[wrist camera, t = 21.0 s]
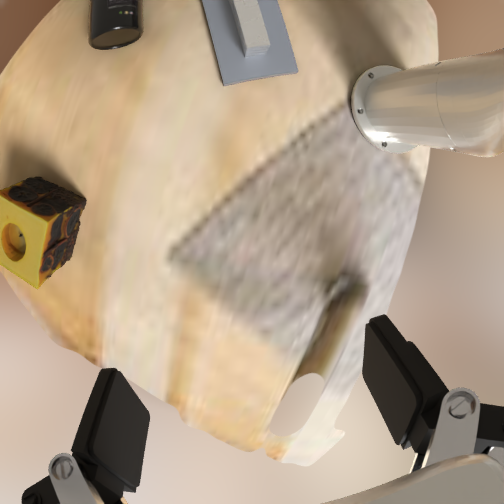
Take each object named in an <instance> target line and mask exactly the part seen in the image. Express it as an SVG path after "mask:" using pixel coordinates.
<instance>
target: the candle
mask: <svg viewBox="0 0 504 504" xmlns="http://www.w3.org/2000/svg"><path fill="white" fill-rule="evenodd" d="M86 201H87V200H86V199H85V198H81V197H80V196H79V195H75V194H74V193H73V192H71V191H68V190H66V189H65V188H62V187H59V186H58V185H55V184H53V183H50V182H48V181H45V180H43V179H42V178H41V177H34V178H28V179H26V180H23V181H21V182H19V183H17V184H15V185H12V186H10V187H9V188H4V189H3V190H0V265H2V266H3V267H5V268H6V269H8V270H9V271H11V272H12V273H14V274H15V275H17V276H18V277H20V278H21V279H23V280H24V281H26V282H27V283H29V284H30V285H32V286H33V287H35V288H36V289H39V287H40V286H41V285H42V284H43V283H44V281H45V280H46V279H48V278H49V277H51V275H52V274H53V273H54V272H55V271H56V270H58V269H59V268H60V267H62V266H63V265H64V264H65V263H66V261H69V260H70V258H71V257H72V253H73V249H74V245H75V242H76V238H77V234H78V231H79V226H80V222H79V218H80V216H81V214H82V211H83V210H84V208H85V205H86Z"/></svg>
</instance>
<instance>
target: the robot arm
mask: <svg viewBox="0 0 504 504" xmlns="http://www.w3.org/2000/svg"><path fill="white" fill-rule="evenodd" d="M368 75H369V76H368ZM351 107H352V113H353V117H354V120H355V123H356V125H357V126H358V128H359V130H360V132H361V133H362V135H363V136H364V137H365V138H366V139H367V140H368V141H369V142H370V143H371V144H372V145H373V146H375V147H376V148H378V149H380V150H383V151H385V152H389V153H397V154H399V153H406V152H408V151H411V150H412V149H414V148H415V147H417V146H418V145H419V146H426V147H432V148H438V149H444V150H449V151H455V152H460V153H465V154H470V155H475V156H480V157H493V156H496V155H499V154H501V153H502V152H504V48H503V49H499V50H495V51H491V52H487V53H482V54H477V55H472V56H467V57H461V58H455V59H451V60H446V61H440V62H436V63H431V64H427V65H422V66H418V67H414V68H410V69H406V70H401V69H399V68H396V67H393V66H388V65H382V66H376V67H373V68H371V69H369V70H367V71H365V72H364V73H363V74H362V75H360V77H359V78H358V79H357V81H356V83H355V85H354V87H353V91H352V96H351ZM357 110H359V113H358V111H357ZM362 374H363V378H364V381H365V383H366V385H367V386H368V389H369V390H370V392H371V394H372V396H373V398H374V400H375V402H376V404H377V406H378V408H379V410H380V412H381V414H382V417H383V419H384V421H385V423H386V425H387V427H388V429H389V431H390V433H391V435H392V437H393V439H394V441H395V443H396V444H397V445H400V444H401V446H402V448H403V450H404V449H406V448H408V447H410V446H412V448H413V450H414V451H415V453H416V455H415V458H414V461H413V464H412V466H411V469H410V472H409V474H407V475H405V476H402V477H400V478H397V479H395V480H393V481H390V482H388V483H385V484H382V485H380V486H377V487H374V488H372V489H369V490H366V491H363V492H360V493H357V494H354V495H351V496H347V497H344V498H341V499H337V500H334V501H330V502H326V503H322V504H504V407H502V406H495V405H488V404H482V403H480V400H479V398H478V396H477V395H476V394H475V392H473V391H472V390H470V389H467V388H456V389H452V390H451V391H449V390H448V389H447V387H446V386H445V385H444V383H443V382H442V380H441V379H440V377H439V376H438V375H437V373H436V372H435V371H434V369H433V368H432V367H431V365H430V364H429V363H428V361H427V360H426V359H425V357H424V356H423V355H422V353H421V352H420V351H419V349H418V348H417V347H416V346H415V344H413V342H411V341H408V342H407V341H406V340H405V339H404V337H403V336H402V335H401V333H400V332H399V331H398V329H397V328H396V327H395V326H394V324H393V323H392V322H391V321H390V319H389V318H388V317H387V316H386V315H385V314H383V315H380V316H377V317H374V318H371V319H370V321H369V323H368V324H366V327H365V344H364V358H363V369H362ZM149 422H150V414H149V411H148V410H147V409H146V407H145V406H144V405H143V403H142V402H141V400H140V399H139V398H138V396H137V395H136V393H135V392H134V390H133V389H132V388H131V386H130V385H129V383H128V382H127V380H126V379H125V377H124V376H123V374H122V373H121V372H120V371H118V370H117V369H116V368H106V369H101V371H100V372H99V375H98V377H97V380H96V382H95V385H94V387H93V390H92V393H91V395H90V397H89V400H88V403H87V405H86V408H85V411H84V414H83V416H82V419H81V422H80V425H79V428H78V431H77V433H76V437H75V440H74V443H73V446H72V449H71V451H72V452H73V453H72V456H71V455H70V454H67V453H61V454H58V455H56V456H55V457H54V458H53V459H52V460H51V462H50V464H49V469H48V470H49V476H47V477H45V478H44V479H42V480H41V481H39V482H37V483H36V484H34V485H32V486H31V487H29V488H28V489H26V490H25V491H24V493H23V495H22V504H128V503H127V501H126V500H125V499H124V497H123V491H126V492H136V487H138V486H139V484H140V479H141V471H142V465H143V457H144V451H145V445H146V439H147V433H148V427H149Z"/></svg>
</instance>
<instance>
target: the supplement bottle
mask: <svg viewBox="0 0 504 504" xmlns="http://www.w3.org/2000/svg"><path fill="white" fill-rule="evenodd" d="M142 34H143V0H90V6H89V29H88V41H89V45H90V46H91V47H92V48H95V49H99V50H109V49H116V48H120V47H124V46H127V45H129V44H132V43H134V42H135V41H137V40H138V39H139V38H140V37H141V36H142Z"/></svg>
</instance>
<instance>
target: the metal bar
mask: <svg viewBox="0 0 504 504" xmlns="http://www.w3.org/2000/svg"><path fill="white" fill-rule="evenodd" d="M229 2H230V5H231V9H232V12H233V16H234V19H235V23H236V27H237V30H238V34H239V37H240V41H241V45H242V48H243V52H244V56H245V58H247V57H253V56H258V55H265V54H266V53H267V51H268V49H269V47H270V41H269V38H268V34H267V31H266V27H265V24H264V21H263V17H262V14H261V11H260V8H259V5H258V1H257V0H229Z"/></svg>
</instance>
